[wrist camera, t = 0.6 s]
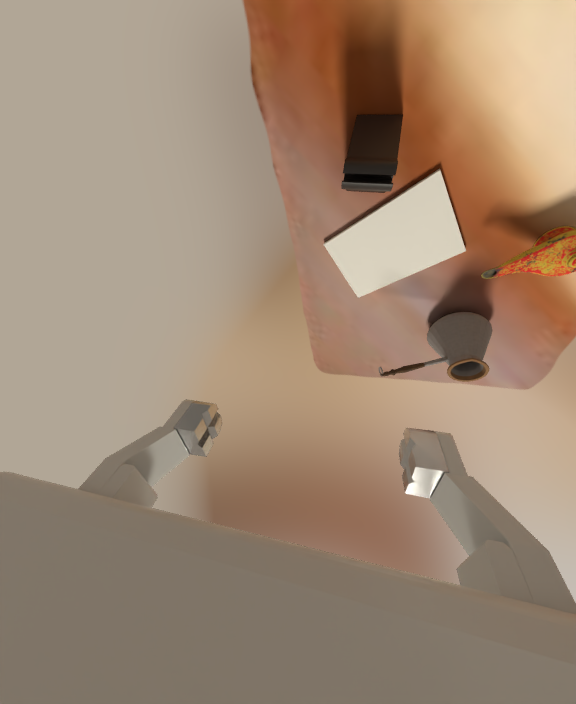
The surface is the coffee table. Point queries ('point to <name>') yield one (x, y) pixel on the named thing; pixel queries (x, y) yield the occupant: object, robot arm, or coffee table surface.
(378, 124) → the phone stand
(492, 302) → the coffee table surface
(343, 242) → the mat
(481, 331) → the coffee pot
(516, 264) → the magic lamp
